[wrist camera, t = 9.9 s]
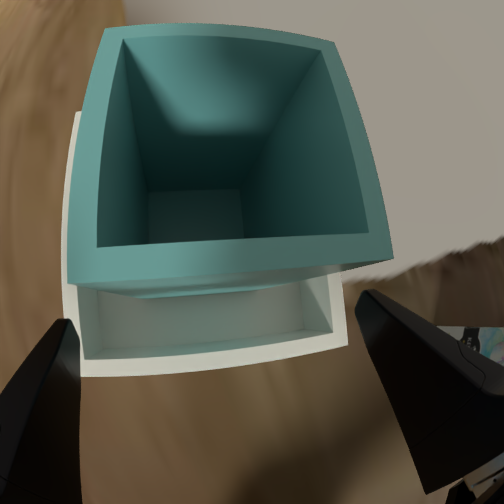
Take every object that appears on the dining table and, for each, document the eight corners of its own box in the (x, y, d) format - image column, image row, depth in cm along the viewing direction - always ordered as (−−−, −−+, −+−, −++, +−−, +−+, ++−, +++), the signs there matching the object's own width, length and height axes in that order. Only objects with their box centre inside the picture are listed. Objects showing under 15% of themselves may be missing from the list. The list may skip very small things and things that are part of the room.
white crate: (311, 338, 19) (347, 345, 14) (96, 360, 15) (72, 376, 11) (285, 143, 21) (309, 109, 17) (92, 149, 17) (75, 111, 13)
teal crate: (257, 290, 18) (394, 258, 6) (142, 299, 16) (67, 283, 5) (245, 183, 19) (333, 42, 7) (139, 187, 17) (105, 28, 6)
